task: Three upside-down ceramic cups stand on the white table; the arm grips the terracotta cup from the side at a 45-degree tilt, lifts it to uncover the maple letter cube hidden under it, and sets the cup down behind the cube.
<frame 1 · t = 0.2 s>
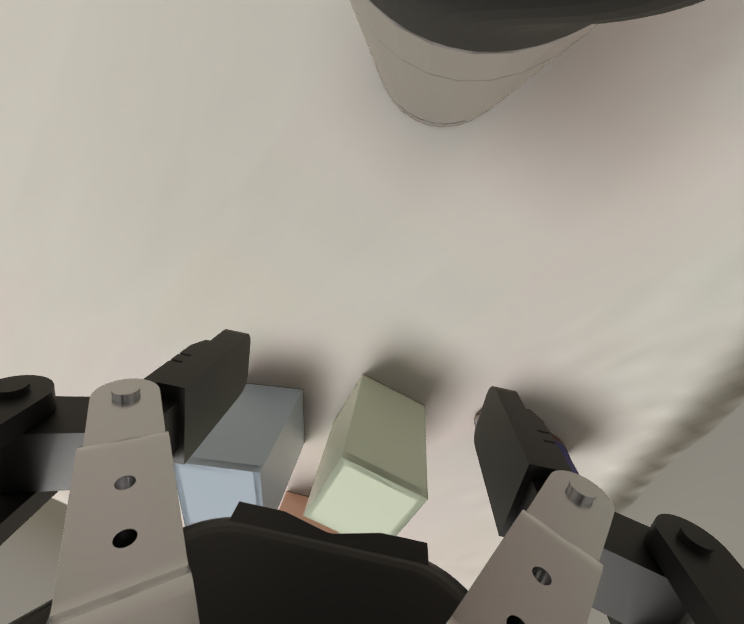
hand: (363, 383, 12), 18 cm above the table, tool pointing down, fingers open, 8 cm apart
cup terracotta: (310, 518, 40), on the table
cup slate: (271, 413, 35), on the table
cup sage: (377, 414, 34), on the table
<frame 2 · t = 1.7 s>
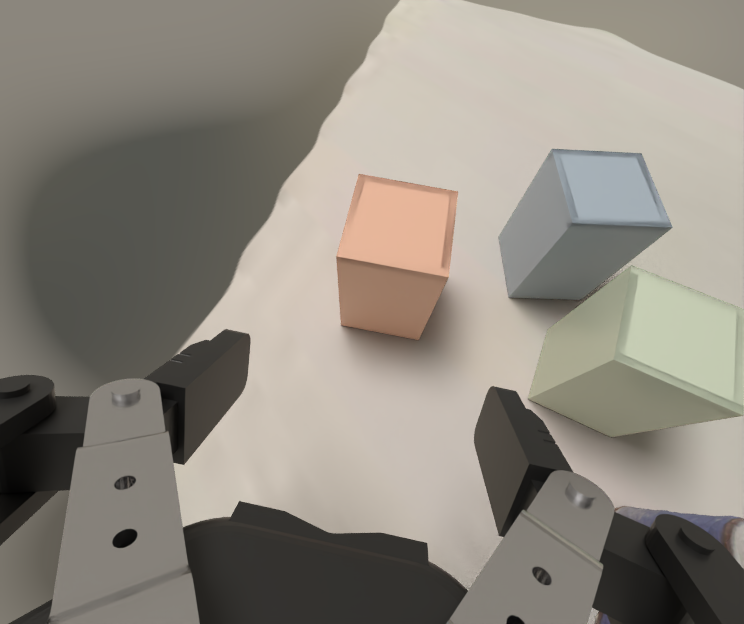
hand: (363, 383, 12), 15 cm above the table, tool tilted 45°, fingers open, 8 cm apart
cup terracotta: (386, 298, 31), on the table
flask: (617, 583, 23), on the table
cup slate: (538, 267, 33), on the table
cup sage: (577, 380, 28), on the table
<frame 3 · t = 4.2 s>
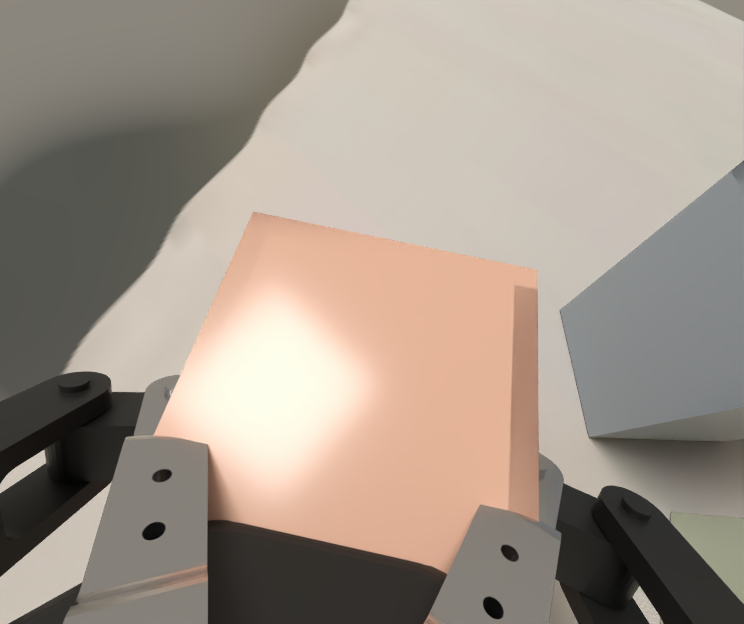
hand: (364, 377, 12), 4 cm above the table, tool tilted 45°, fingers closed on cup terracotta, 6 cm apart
cup terracotta: (352, 440, 16), on the table, touching gripper
cup slate: (635, 371, 18), on the table
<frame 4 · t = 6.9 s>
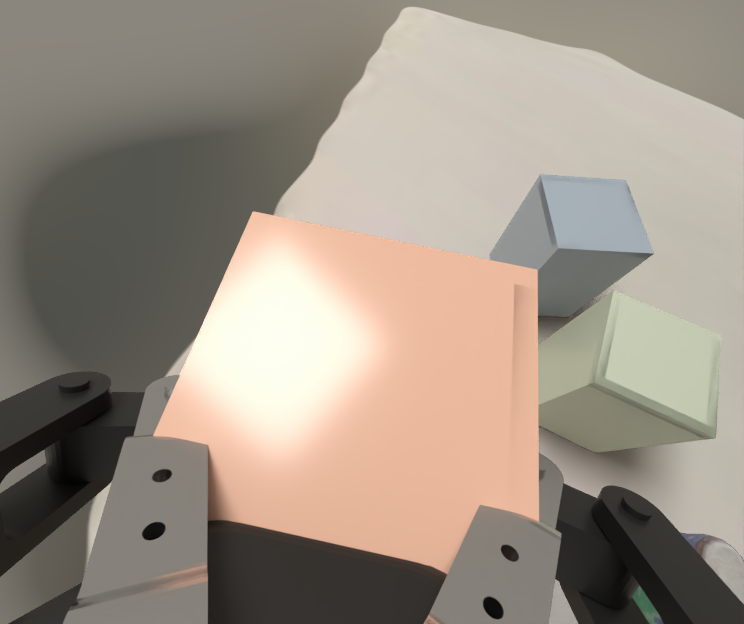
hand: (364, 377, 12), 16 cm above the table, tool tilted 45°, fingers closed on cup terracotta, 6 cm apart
cup terracotta: (352, 440, 16), point 12 cm above the table, touching gripper
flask: (598, 596, 24), on the table
cup slate: (527, 284, 34), on the table
cup sage: (563, 396, 29), on the table
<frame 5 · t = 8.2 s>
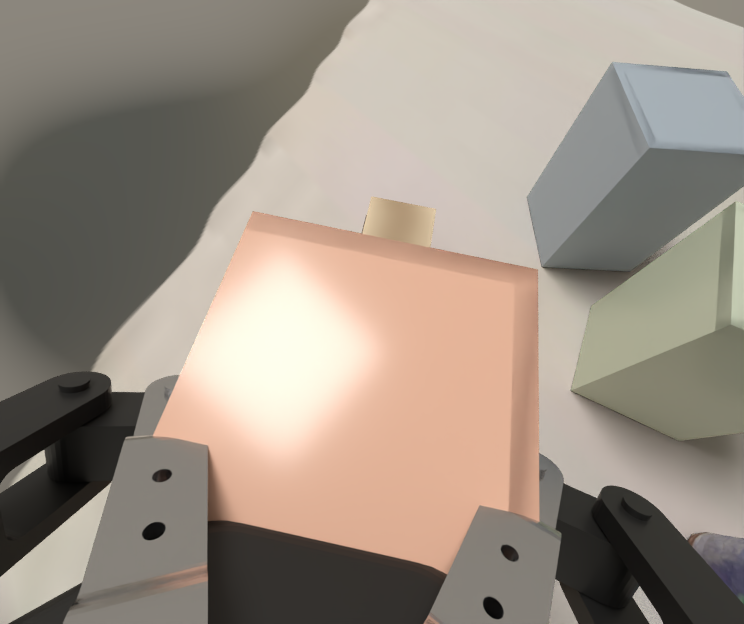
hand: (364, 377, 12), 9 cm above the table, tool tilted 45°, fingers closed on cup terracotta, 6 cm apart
cup terracotta: (352, 440, 16), point 4 cm above the table, touching gripper
cup slate: (575, 232, 27), on the table
cup sage: (631, 368, 23), on the table
letter cube: (393, 247, 23), on the table
when the fingers open (6 cm above the table, at t = 9.4 s): cup terracotta drops 1 cm, on the table.
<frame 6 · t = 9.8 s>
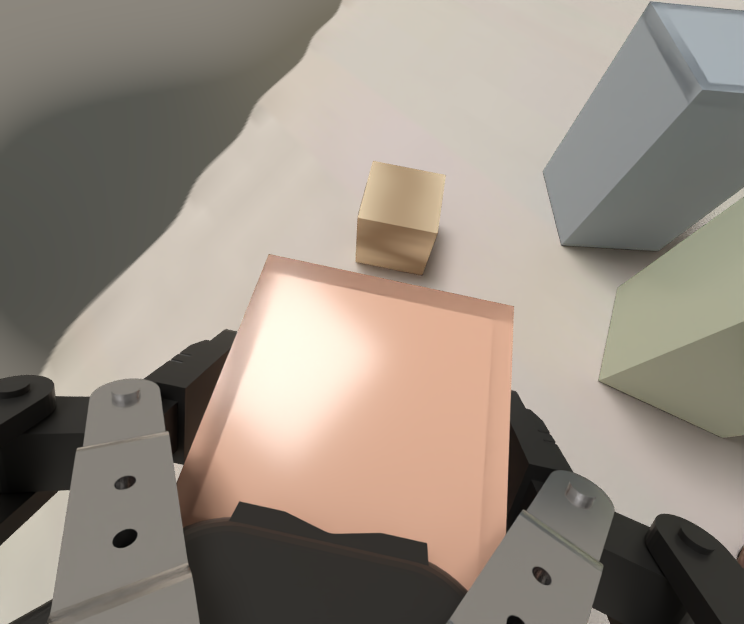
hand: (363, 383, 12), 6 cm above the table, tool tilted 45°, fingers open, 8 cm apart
cup terracotta: (353, 447, 17), on the table
cup slate: (597, 209, 24), on the table
cup sage: (665, 356, 20), on the table
letter cube: (397, 219, 20), on the table
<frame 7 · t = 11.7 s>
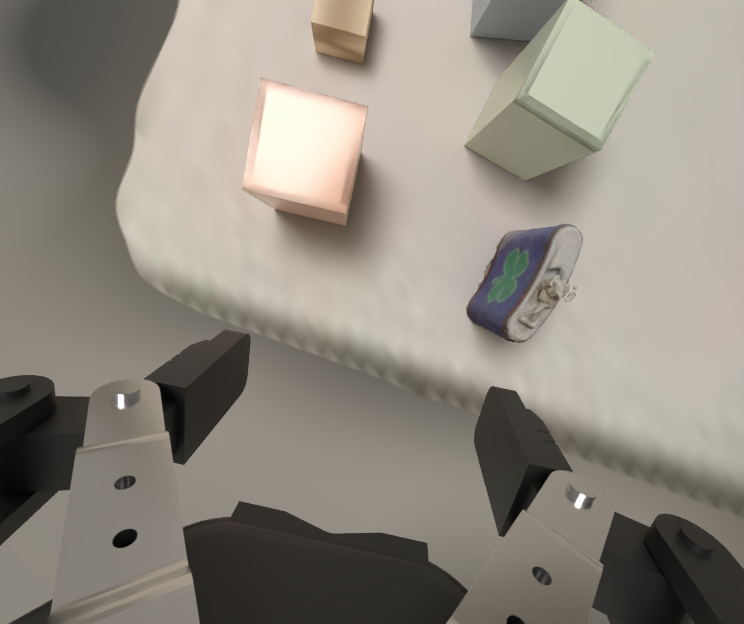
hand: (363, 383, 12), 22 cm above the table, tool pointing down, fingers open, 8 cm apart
cup terracotta: (317, 180, 32), on the table
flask: (494, 278, 34), on the table
cup sage: (512, 129, 32), on the table
letter cube: (343, 15, 28), on the table
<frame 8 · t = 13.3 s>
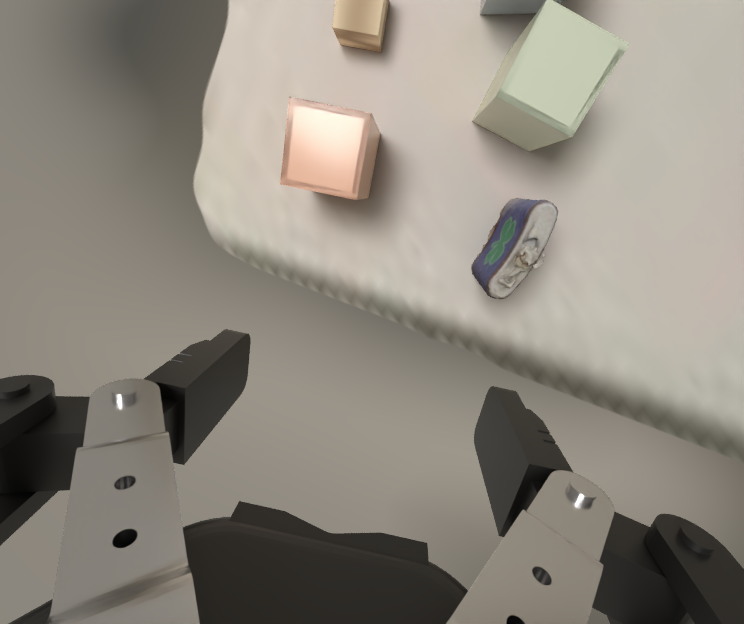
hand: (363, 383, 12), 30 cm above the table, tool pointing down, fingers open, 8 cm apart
cup terracotta: (344, 160, 38), on the table
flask: (498, 240, 39), on the table
cup sage: (518, 103, 35), on the table
letter cube: (361, 13, 32), on the table
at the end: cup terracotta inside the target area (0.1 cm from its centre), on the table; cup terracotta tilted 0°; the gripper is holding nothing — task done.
